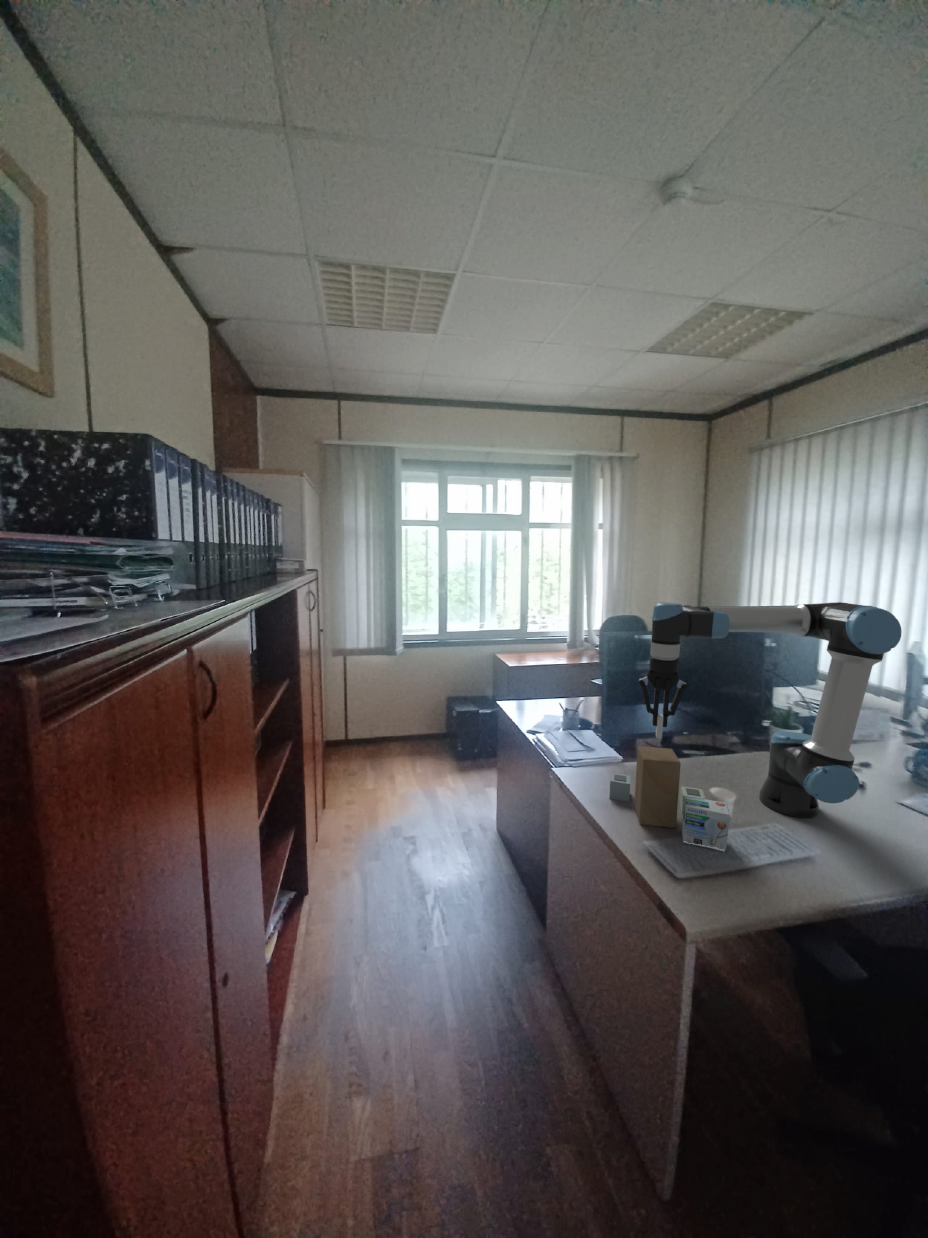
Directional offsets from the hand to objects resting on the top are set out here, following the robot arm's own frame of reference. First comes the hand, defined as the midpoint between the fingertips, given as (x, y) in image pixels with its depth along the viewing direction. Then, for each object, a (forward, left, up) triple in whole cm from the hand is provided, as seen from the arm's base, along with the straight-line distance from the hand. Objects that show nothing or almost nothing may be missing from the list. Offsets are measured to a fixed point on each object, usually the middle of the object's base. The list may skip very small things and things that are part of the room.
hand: (658, 736), depth 134 cm
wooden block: (0, 0, -25) cm, 25 cm away
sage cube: (-11, -8, -25) cm, 29 cm away
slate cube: (+10, -10, -25) cm, 29 cm away
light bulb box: (-12, +8, -25) cm, 29 cm away
